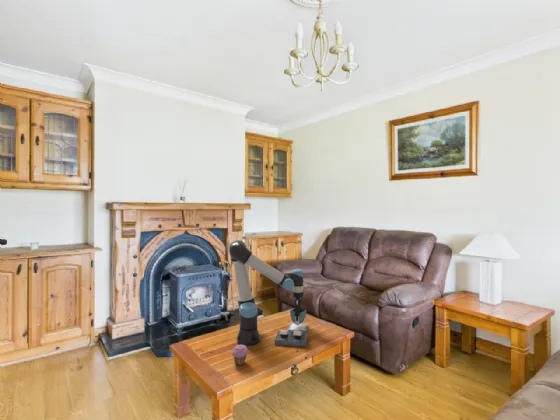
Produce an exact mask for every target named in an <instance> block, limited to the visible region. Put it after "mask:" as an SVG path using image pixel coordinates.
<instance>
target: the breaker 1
mask: <svg viewBox="0 0 560 420" xmlns="http://www.w3.org/2000/svg"><path fill="white" fill-rule="evenodd" d="M279 331H280V334H284V335H287V334H288V329H280V330H279Z"/></svg>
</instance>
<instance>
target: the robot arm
mask: <svg viewBox="0 0 560 420" xmlns="http://www.w3.org/2000/svg"><path fill="white" fill-rule="evenodd" d="M228 248H229V250H228V253H229V256H230V261H231V263H233V266H234V272H235V277H236V285H237V291H238V296H239V297H238V298H237V303H238V309H239V310H238V313H239V329H238V333H237V336H236V342H237V344H238V345H245V346H246V347H247V346H254V345H258V343H260V341H261V335H260V333H259V329H258V311H259V310H258V306H257V304H256V301H255V300H256V299H255V295H253V294H252V289H251V288H252V287H251V284H250V283H251V282H250V276H249V270H248V267H250V268H252V269H254V271H257V272H258V273H260V274H261V275H263V276H265V277H266V278H268V279H270V280H271V281H273V282H274V283H276V284H277V285H279V286H280V287H282V288H283V289H284V290H286V291H292V297H293V298H294V299H295V300H294V302H295V303H294V305H295V307H294V308H295V315H294V316H295V325H299V308H301V309H303V308H302V298H303V297H304V289H305V286H304V271H303V269H300V268H299V269H298V268H297V269H296V268H295V269H293V270H292V272H282V271H280V270H278V269H276V268H274V267H273V266H272V265H270V264H268V263H267V262H266V261H264V260H263V259H261V258H259V257H258V256H256V255H254V254H253V251H252V250H249V248H247V245H246V243H245V242H244V241H243V240H239V239H236V240H234V241H232V242H231V243H230V245H229V247H228Z"/></svg>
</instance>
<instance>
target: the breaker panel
mask: <svg viewBox="0 0 560 420" xmlns="http://www.w3.org/2000/svg"><path fill="white" fill-rule="evenodd" d="M280 331H281V330H279V331H277V334H276V335H275V338H274V346H285V347H294V348H295V347H298V348H307V344H308V339H309V338H308V335H309V334H308V333H307V332H306V333H302V335H301V336H299V335H294V332H288V334H287V335H284V334H280Z"/></svg>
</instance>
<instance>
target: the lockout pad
mask: <svg viewBox="0 0 560 420" xmlns="http://www.w3.org/2000/svg"><path fill="white" fill-rule="evenodd" d="M308 327H309V324H308V323H303V322H302V323H300V324H299V325H295V323H294V322H290V323H289V325H288V328H287V330H288V332H294V331H301V332H302V333H307V331H308Z"/></svg>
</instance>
